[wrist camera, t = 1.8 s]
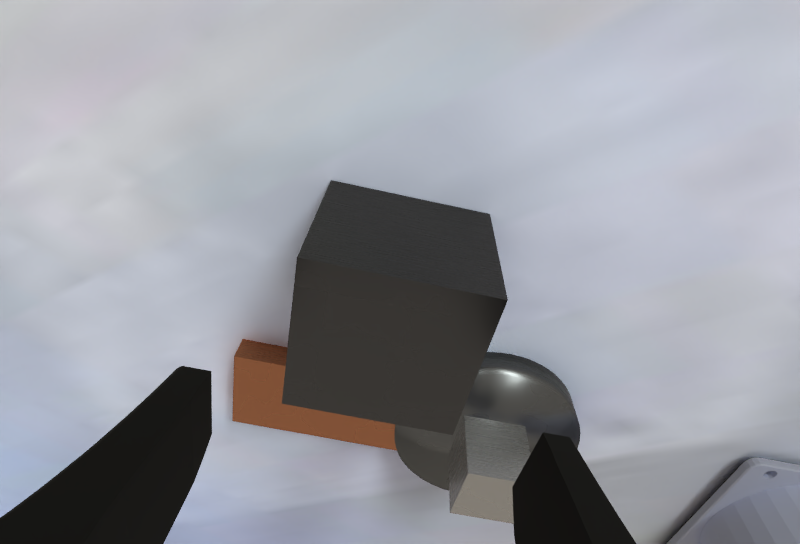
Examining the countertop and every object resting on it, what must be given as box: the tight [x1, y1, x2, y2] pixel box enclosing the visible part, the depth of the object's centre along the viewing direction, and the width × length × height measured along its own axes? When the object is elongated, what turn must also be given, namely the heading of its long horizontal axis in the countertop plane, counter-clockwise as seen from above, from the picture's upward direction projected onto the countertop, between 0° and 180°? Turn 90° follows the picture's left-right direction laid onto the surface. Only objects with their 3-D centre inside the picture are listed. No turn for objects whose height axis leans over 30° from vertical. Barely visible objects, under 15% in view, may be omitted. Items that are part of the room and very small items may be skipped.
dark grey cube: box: [282, 180, 508, 435], centre depth 15 cm, size 5×5×4 cm
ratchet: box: [233, 339, 580, 524], centre depth 19 cm, size 14×7×4 cm, turn 78°
